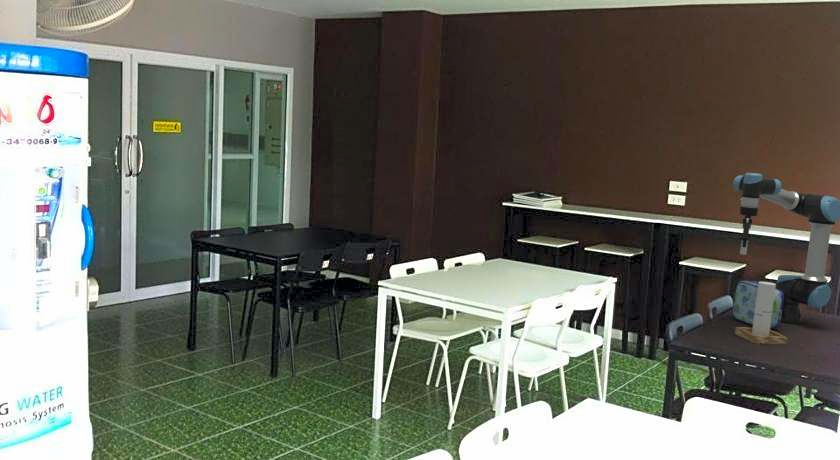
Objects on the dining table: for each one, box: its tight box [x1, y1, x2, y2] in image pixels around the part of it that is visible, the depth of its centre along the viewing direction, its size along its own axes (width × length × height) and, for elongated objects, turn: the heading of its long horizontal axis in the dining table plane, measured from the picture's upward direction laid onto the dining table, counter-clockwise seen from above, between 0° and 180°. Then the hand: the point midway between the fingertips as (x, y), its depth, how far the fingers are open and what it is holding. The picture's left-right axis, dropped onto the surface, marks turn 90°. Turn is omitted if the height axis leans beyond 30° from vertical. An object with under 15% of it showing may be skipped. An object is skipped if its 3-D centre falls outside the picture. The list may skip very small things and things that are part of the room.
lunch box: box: [732, 280, 784, 330], centre depth 397 cm, size 26×11×21 cm, turn 16°
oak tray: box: [734, 326, 788, 346], centre depth 368 cm, size 16×16×3 cm
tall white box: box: [751, 281, 777, 336], centre depth 366 cm, size 7×7×25 cm
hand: (743, 252), depth 378 cm, fingers open, 13 cm apart
